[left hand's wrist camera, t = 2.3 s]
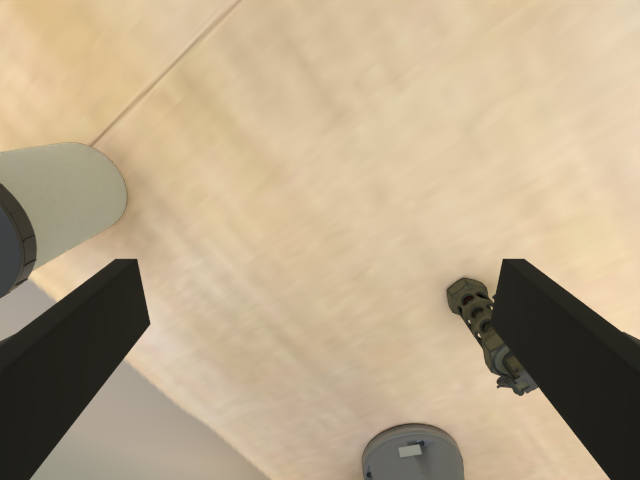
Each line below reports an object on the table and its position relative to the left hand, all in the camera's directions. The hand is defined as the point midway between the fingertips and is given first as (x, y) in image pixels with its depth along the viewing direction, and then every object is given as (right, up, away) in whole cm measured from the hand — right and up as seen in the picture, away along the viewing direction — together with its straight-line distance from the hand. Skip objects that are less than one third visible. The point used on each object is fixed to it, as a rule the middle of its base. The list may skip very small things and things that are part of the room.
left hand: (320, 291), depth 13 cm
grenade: (+20, -5, +32) cm, 38 cm away
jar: (-27, +8, +27) cm, 39 cm away
